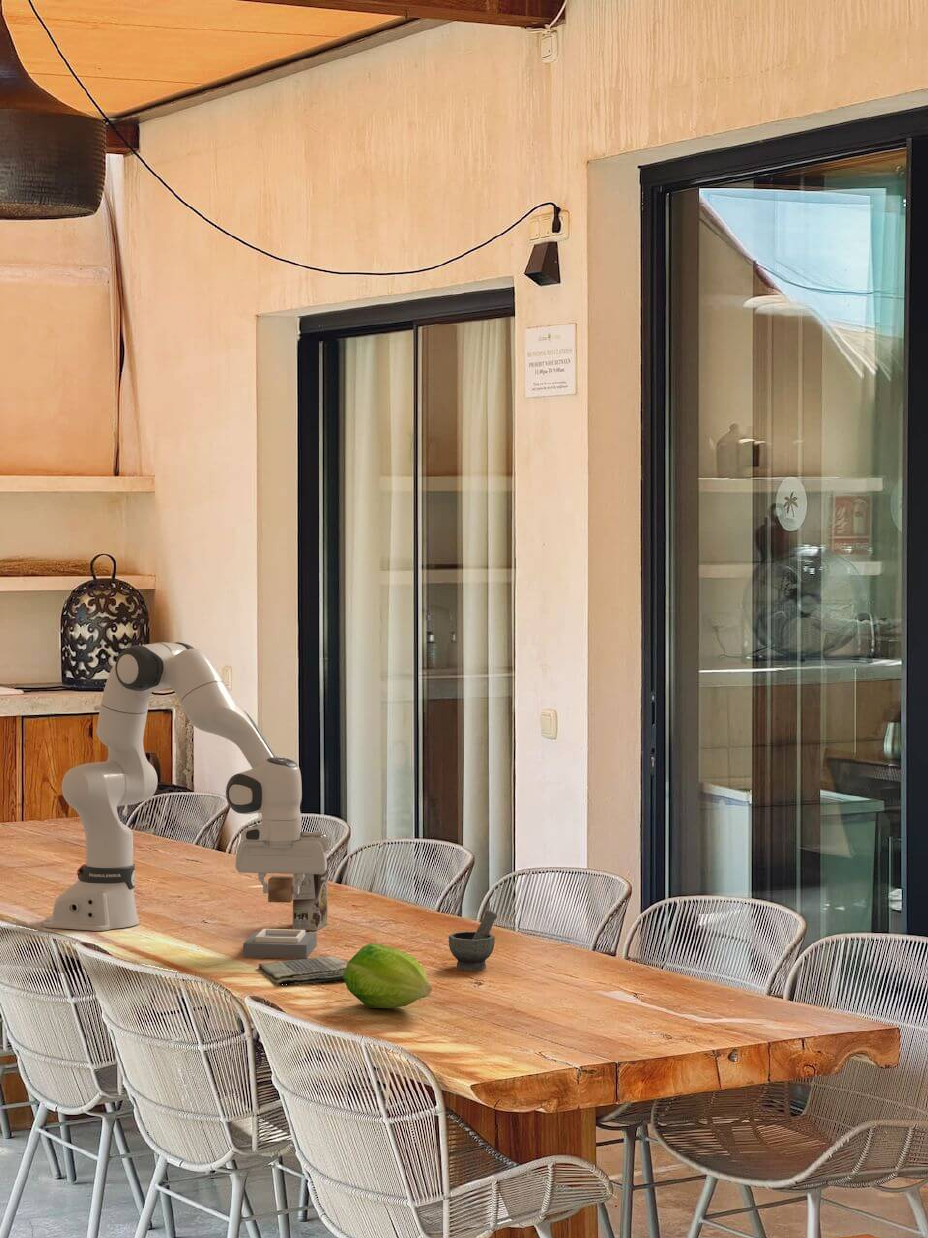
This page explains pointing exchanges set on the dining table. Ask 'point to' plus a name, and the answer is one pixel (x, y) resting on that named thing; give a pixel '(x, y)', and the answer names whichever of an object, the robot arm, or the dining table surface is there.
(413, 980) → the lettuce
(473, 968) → the mortar and pestle
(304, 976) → the dish towel
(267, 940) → the plinth
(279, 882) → the walnut block
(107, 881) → the robot arm
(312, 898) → the coffee box
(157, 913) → the dining table surface
